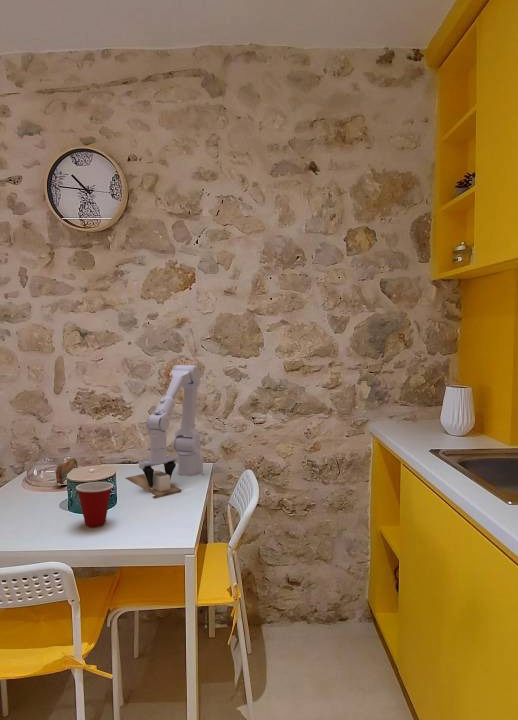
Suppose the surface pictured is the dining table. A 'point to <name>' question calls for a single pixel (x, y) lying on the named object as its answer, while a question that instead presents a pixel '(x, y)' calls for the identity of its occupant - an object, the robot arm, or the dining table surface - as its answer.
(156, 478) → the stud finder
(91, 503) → the plastic cup
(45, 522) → the dining table surface
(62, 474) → the brown arched piece
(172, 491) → the floorboard
